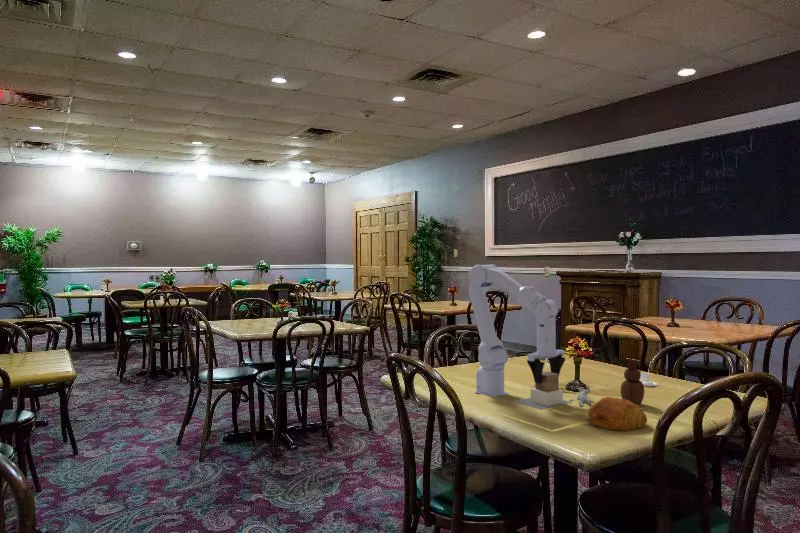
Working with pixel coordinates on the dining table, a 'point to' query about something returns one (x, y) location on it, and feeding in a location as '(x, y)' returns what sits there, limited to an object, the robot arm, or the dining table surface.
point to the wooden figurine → (632, 384)
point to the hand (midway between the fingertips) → (546, 381)
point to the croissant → (616, 414)
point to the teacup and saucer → (647, 380)
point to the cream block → (546, 397)
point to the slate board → (539, 406)
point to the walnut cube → (548, 382)
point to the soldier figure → (583, 396)
